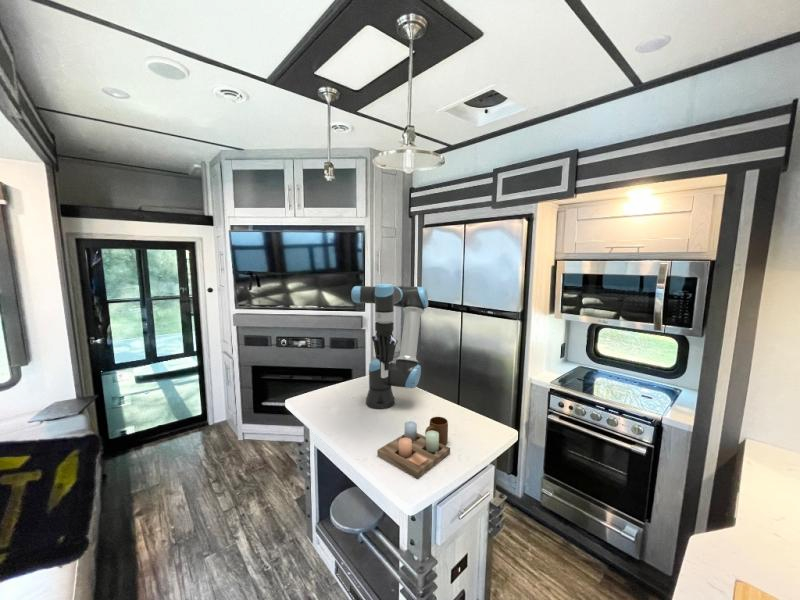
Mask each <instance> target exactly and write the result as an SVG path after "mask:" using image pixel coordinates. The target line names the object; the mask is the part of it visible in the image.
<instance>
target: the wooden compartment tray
mask: <svg viewBox="0 0 800 600" xmlns="http://www.w3.org/2000/svg"><path fill="white" fill-rule="evenodd" d="M401 438H404V433H403V434H402V435H401V436H398V437H397V438H394V440H392V441H389V442H388V443H386V444H385V445H383V446H381V447H379V448H378V449H377V452H376V453H377V457H379V458H380V459H382V460H384V461H386V462H387V463H389V464H390V465H393V466H394V467H396V468H398V469H399V470H401V471H403V472H404V473H406V474H408V475H410V476H412V477H414V478H415V479H417V480H418V479H420V478H421V477H422V476H424V475H425V474H426V473H427V472H428V471H430V470H431V469H433V468H435V466H437V465H438V464H439V463H441V461H442V462H443V460H444V459H446V458H447V457H448V456H450V455H451V448H450V447H449V446H447V445H443V444H440V443H439V450H438V451H436V452H435V453H434V454H433V453H432V452H429V451H427V450H426V435H422V434H421V433H418V432H417V439H416V440H415V441H413V442H412V455H411V456H410V457H408V458H407V459H405V458H403V457H401V456H399V439H401Z"/></svg>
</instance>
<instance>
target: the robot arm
mask: <svg viewBox="0 0 800 600" xmlns="http://www.w3.org/2000/svg"><path fill="white" fill-rule="evenodd" d="M350 293H351V295H350V296H351V300H352V302H353V303H356V304H374V306H375V307H374V315H375V316H374V317H375V319H374V321H375V323H374V329H375V335H374V336H372V337H371V339H372V342H373V347H374V353H375V358H376V359H374V360H372V361H370V363H369V366H368V392H367V395H366V397H365V405H366V406H367V407H369V408H371V409H374V410H382V409H383V410H384V409H388V408H391V407H392V406H394V405H395V396H394V394H393V389H392V387H396V388H397V387H399V388H406V389H414V388H416V387H417V386H418V384H419V381H420V378H421V373H422V367H421V365H420V364H419V360H417V351H418V343H419V337H420V335H419V334H420V325H421V317H422V315H423V314H424V313H425V309H428V306H429V296H428V291H427V289H426V288H425V287H424V286H418V285H417V286H408V285H407V286H399V285H398V286H394V285H393V284H392V283H377V284H375V286H369V285H368V286H364V285H363V286H361V285H355V286H353V287H352V289H351V292H350ZM394 307H397V308H402V310H403V312H404V317H403V318H404V319H403V320H404V321H403V328H402V336H401V342H400V351H399V352H400V353H399V356H398V357H397V358H396V360H395V362H393V361H394V357H395V352H396V345H397V344H398V341H399V340H397V339H395V338H394V335H393V332H394V328H395V327H394V324H395V323H394V318H395V317H394Z"/></svg>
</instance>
